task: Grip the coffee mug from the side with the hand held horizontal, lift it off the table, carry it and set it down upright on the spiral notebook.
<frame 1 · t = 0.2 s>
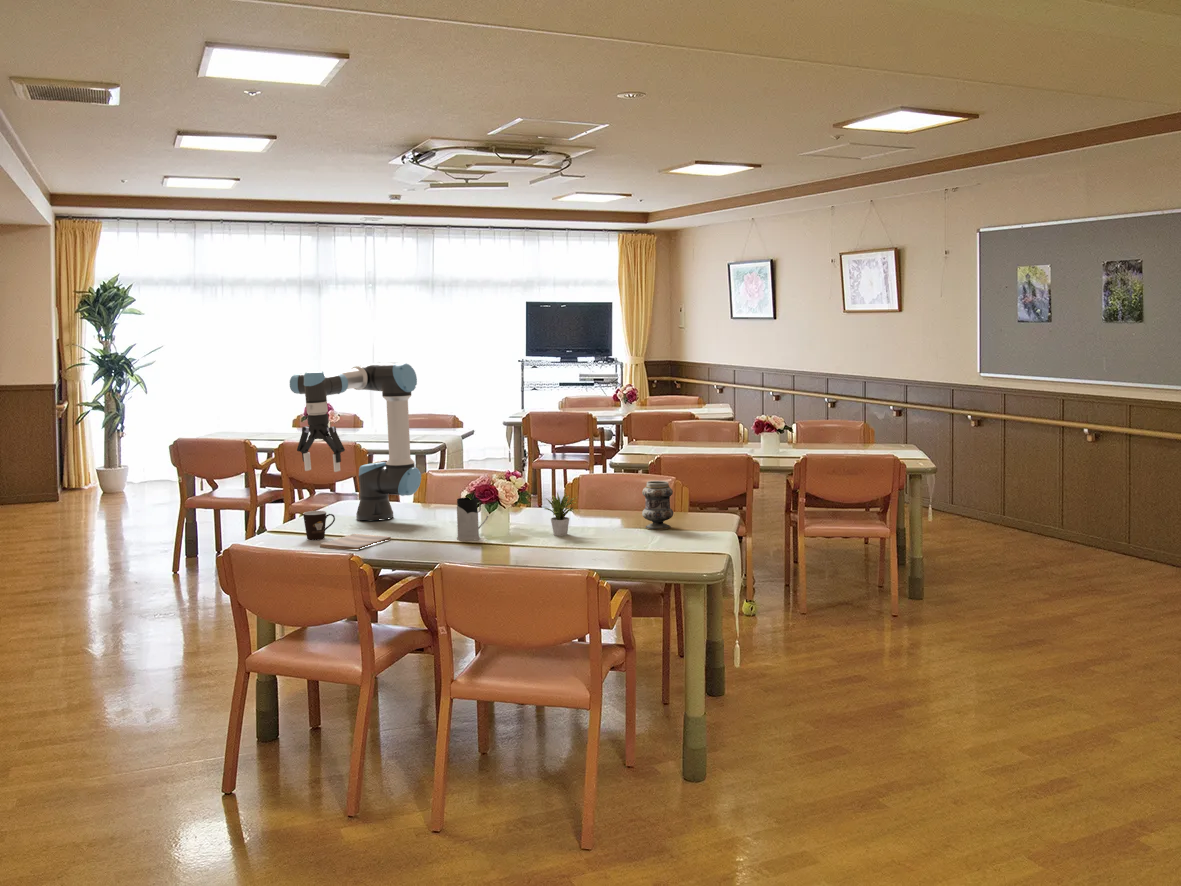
hand: (322, 470, 409), 27 cm above the table, tool pointing down, fingers open, 13 cm apart
house plant: (561, 535, 419), on the table
coffee mug: (320, 539, 421), on the table
gray pitcher: (474, 538, 418), on the table
apothecary jar: (657, 528, 430), on the table
spiral notebook: (355, 543, 410), on the table
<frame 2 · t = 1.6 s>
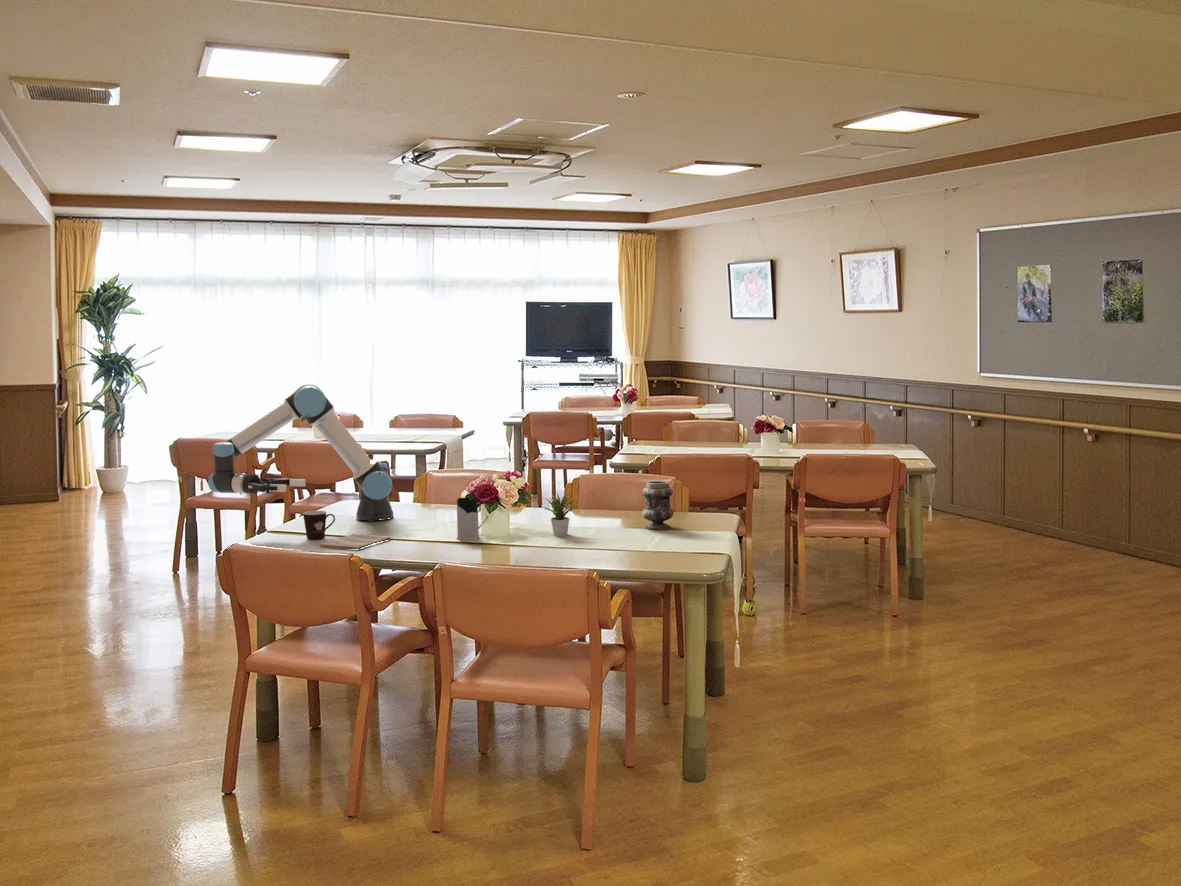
hand: (295, 485, 421), 20 cm above the table, tool horizontal, fingers open, 13 cm apart
nothing on the table moved.
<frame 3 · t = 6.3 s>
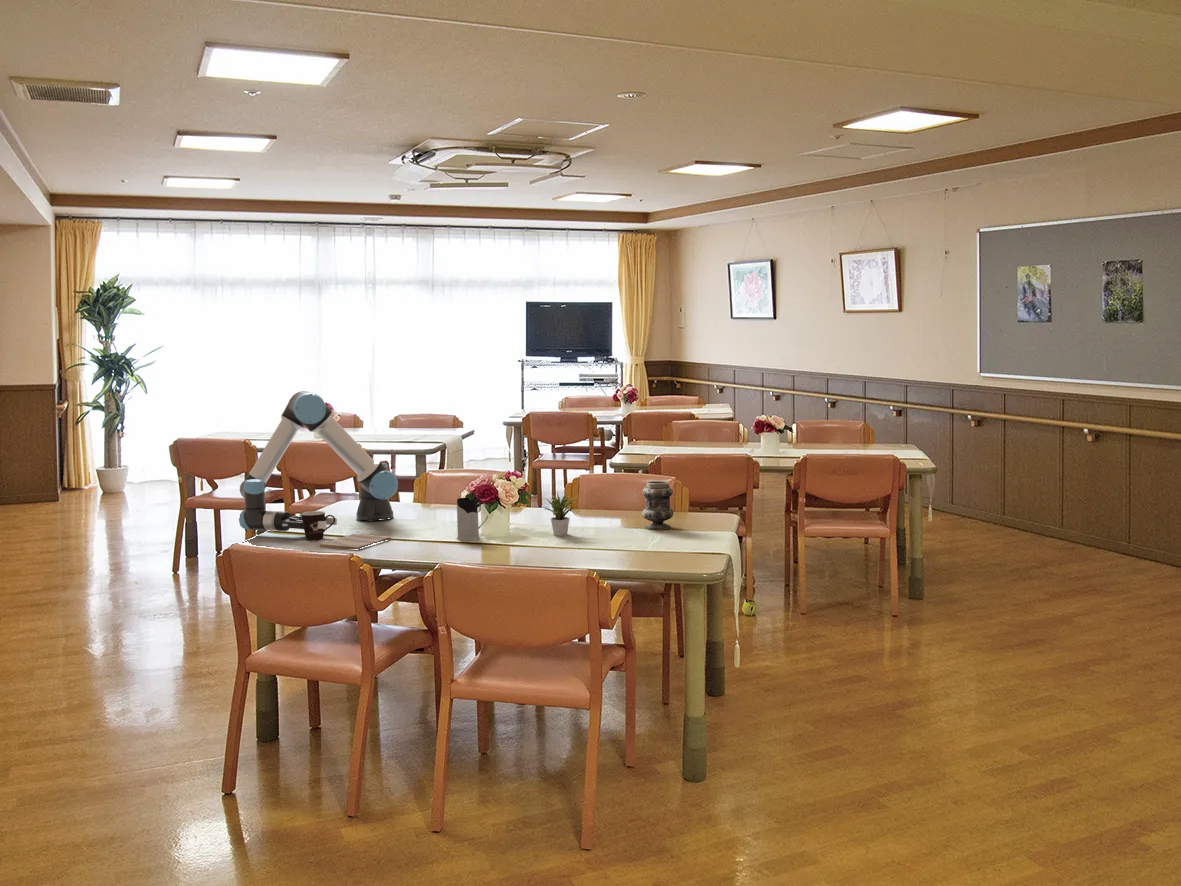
hand: (331, 523, 419), 6 cm above the table, tool horizontal, fingers open, 7 cm apart
coffee mug: (318, 539, 420), on the table
everything else where it was.
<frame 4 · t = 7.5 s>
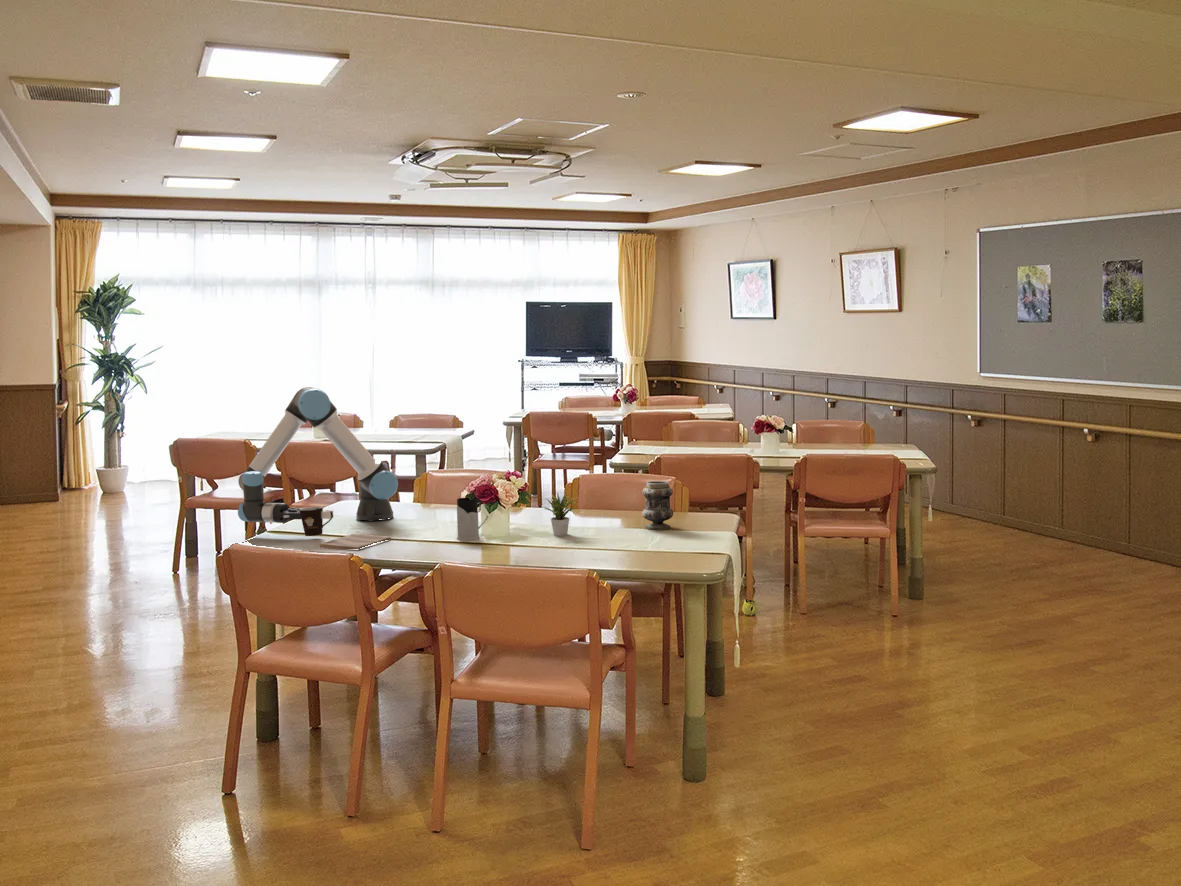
hand: (331, 514, 418), 9 cm above the table, tool horizontal, fingers closed on coffee mug
coffee mug: (316, 535, 419), point 2 cm above the table, touching gripper, hand
everything else where it was.
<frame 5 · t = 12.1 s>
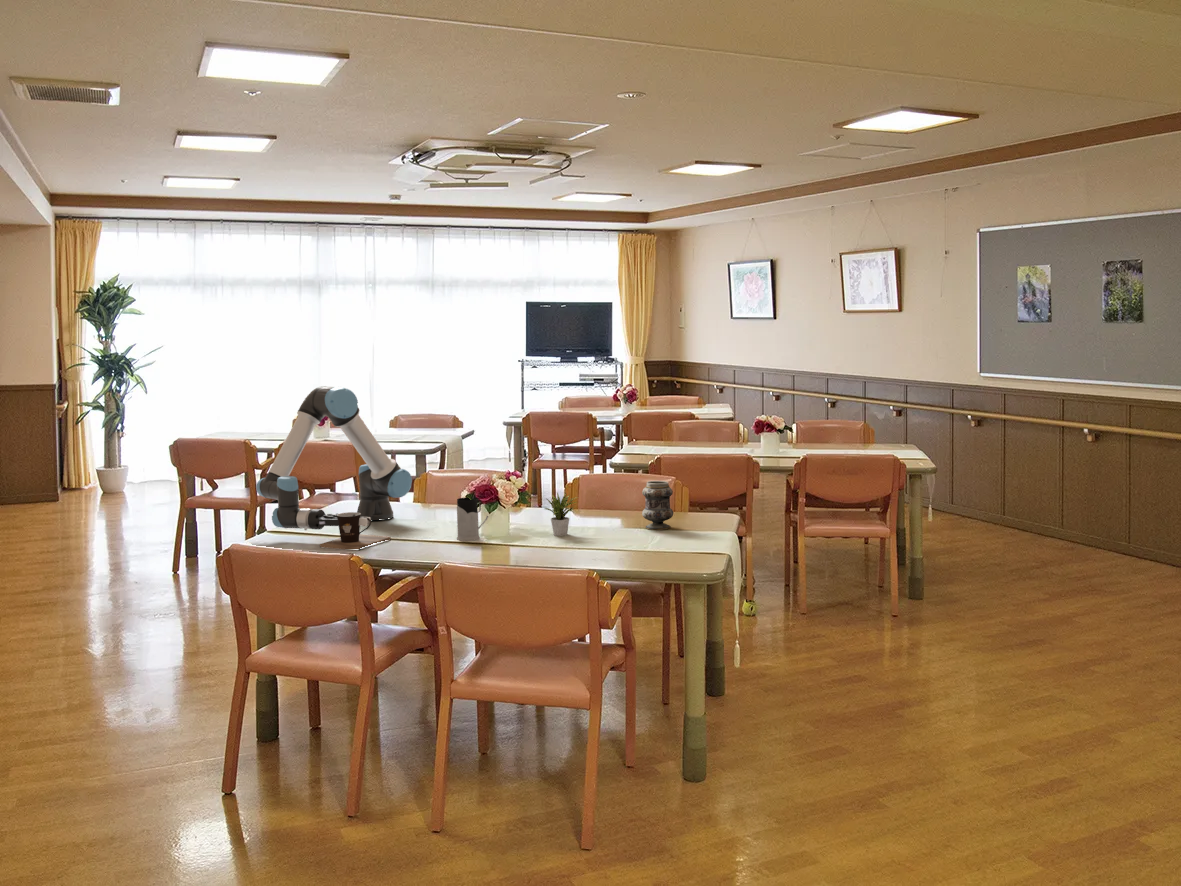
hand: (368, 521, 408), 9 cm above the table, tool horizontal, fingers closed
coffee mug: (353, 541, 408), point 1 cm above the table, touching spiral notebook
everything else where it was.
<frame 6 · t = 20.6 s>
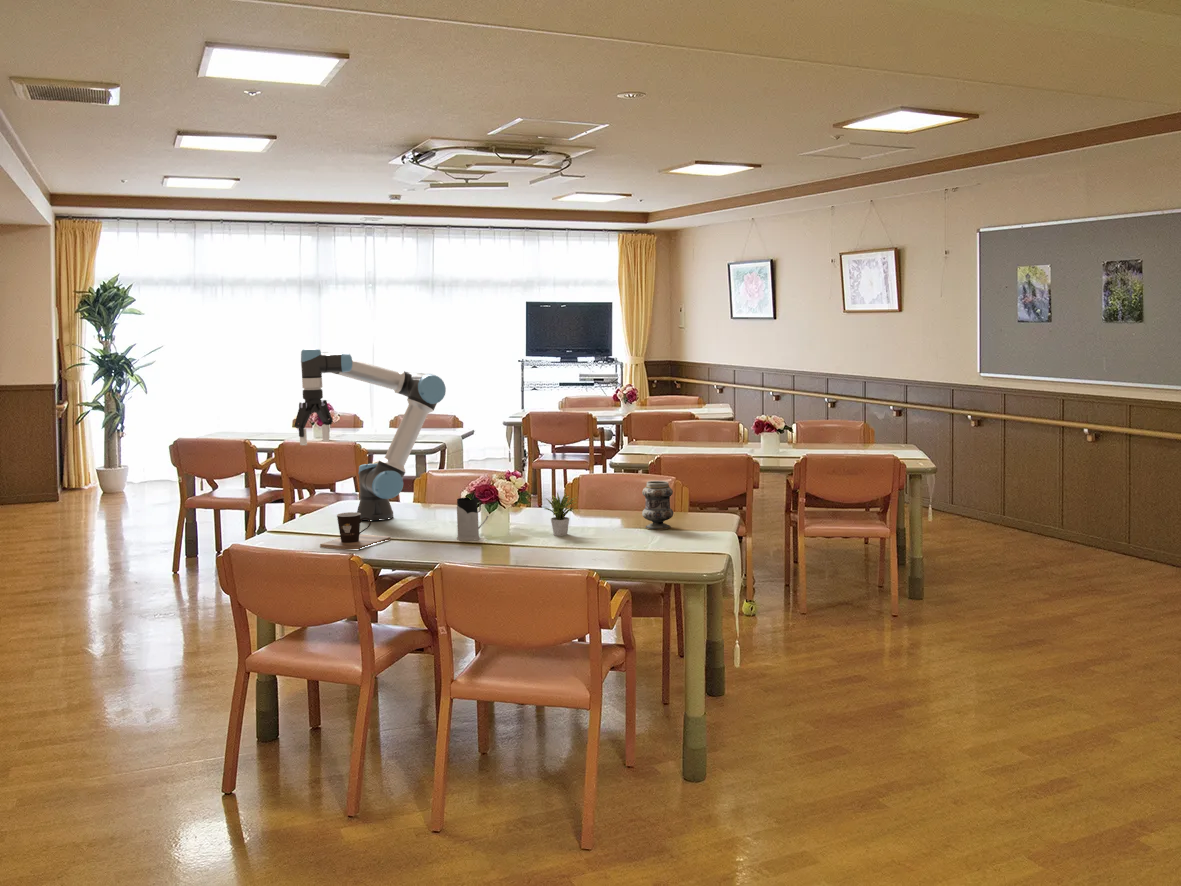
hand: (314, 443, 432), 35 cm above the table, tool pointing down, fingers open, 13 cm apart
nothing on the table moved.
at the end: coffee mug inside the target area on the spiral notebook (2.0 cm from its centre), point 1.0 cm above the spiral notebook's base; coffee mug tilted 0°; the gripper is holding nothing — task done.
